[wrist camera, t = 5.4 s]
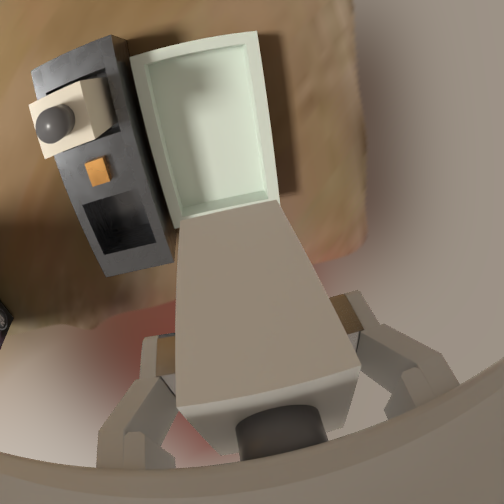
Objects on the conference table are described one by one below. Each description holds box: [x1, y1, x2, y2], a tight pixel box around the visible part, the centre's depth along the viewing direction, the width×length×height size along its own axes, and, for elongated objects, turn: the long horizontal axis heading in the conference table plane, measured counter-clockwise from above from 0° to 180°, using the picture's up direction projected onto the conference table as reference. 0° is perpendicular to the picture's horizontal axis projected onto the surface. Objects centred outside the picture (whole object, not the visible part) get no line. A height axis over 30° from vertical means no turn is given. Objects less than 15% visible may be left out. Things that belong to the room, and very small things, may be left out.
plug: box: [175, 200, 361, 461], centre depth 10 cm, size 4×4×10 cm
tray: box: [129, 31, 280, 229], centre depth 24 cm, size 16×10×3 cm, turn 8°
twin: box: [29, 77, 118, 159], centre depth 17 cm, size 4×4×10 cm
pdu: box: [31, 35, 176, 277], centre depth 23 cm, size 20×7×6 cm, turn 8°
